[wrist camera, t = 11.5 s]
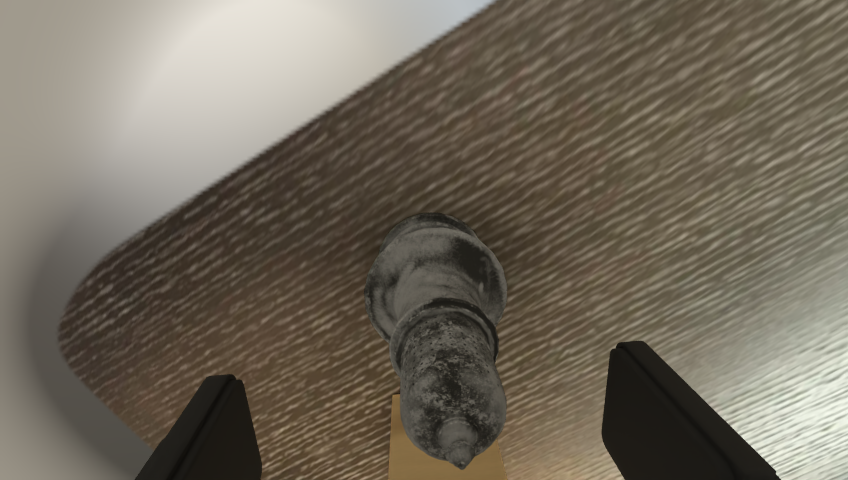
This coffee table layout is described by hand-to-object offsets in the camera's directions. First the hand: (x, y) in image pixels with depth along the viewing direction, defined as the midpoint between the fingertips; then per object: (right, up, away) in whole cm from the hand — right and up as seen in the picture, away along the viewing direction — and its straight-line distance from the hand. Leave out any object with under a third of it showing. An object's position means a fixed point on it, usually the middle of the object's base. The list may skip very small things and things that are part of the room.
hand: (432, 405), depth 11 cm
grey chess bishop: (0, +3, +10) cm, 11 cm away
